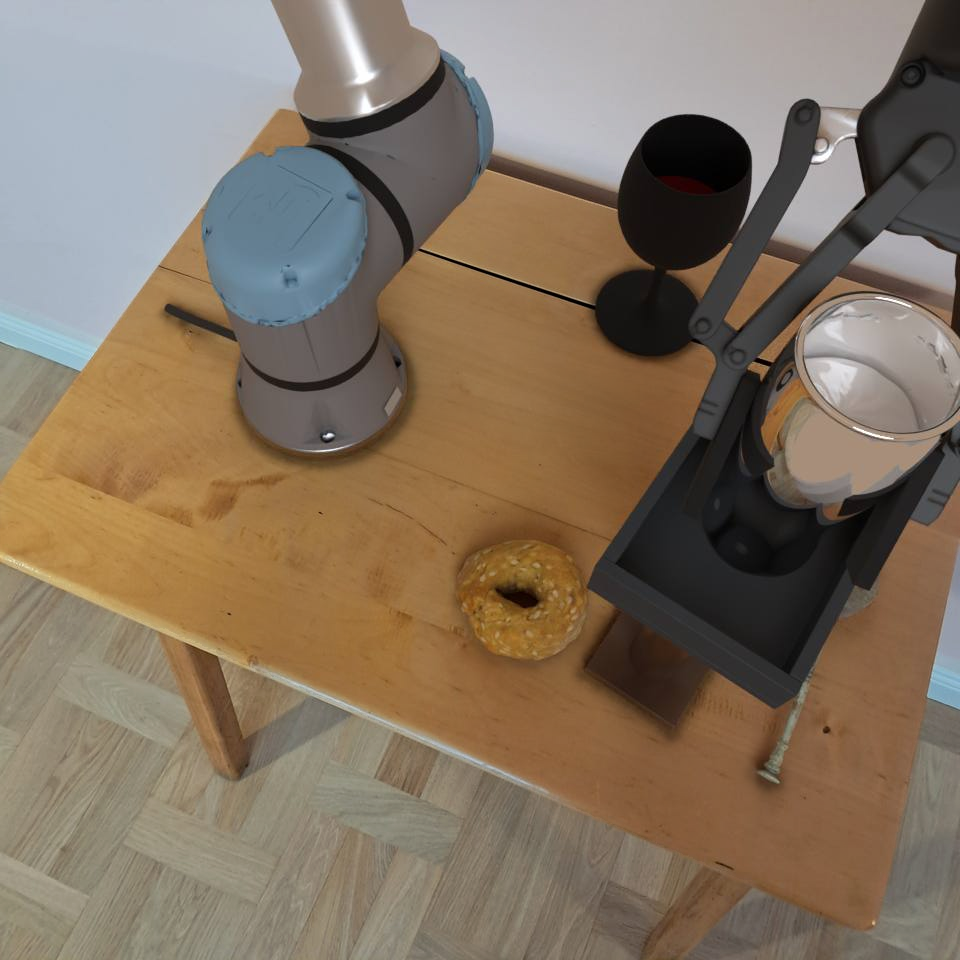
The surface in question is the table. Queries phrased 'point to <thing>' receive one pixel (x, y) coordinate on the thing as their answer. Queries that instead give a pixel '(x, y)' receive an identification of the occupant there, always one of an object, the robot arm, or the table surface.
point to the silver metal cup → (834, 428)
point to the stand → (647, 670)
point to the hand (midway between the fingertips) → (773, 540)
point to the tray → (724, 587)
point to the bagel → (533, 573)
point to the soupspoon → (853, 605)
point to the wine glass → (673, 227)
